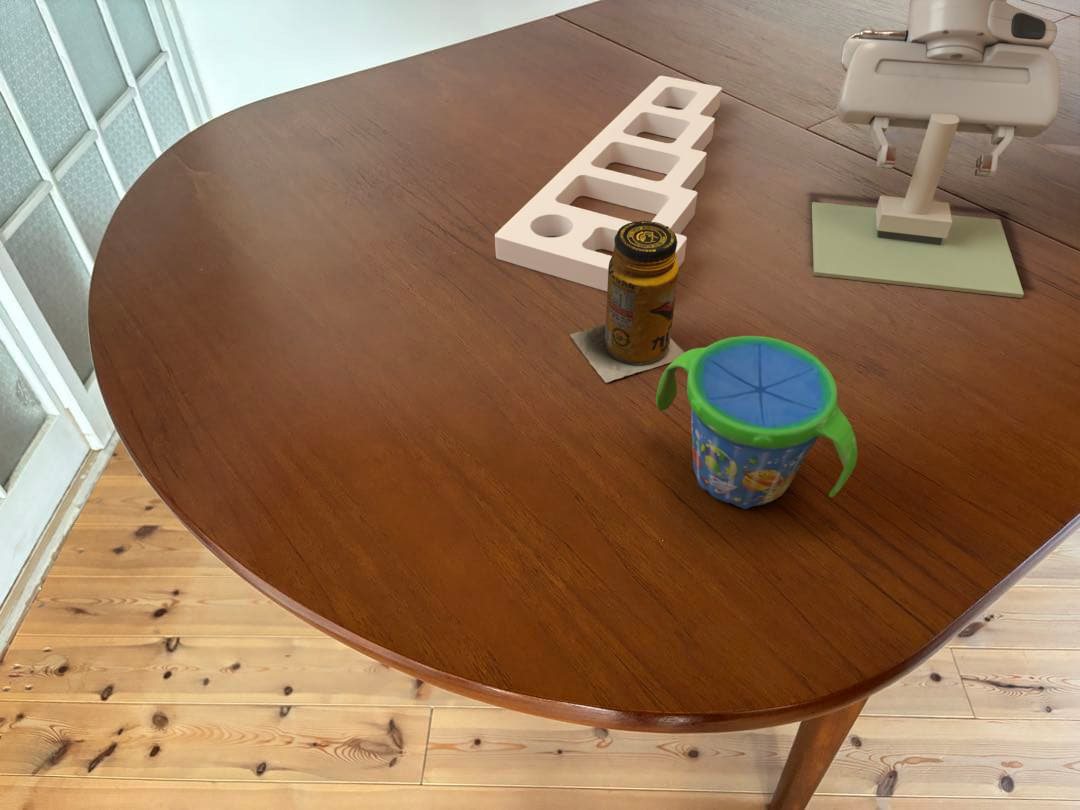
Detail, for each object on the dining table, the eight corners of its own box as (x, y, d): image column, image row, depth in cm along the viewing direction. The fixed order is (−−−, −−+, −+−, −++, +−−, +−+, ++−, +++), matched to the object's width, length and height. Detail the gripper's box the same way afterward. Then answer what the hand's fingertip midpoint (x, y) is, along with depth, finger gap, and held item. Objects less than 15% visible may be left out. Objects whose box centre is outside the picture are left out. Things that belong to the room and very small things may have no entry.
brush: (940, 227, 93) (981, 112, 84) (943, 247, 90) (986, 130, 81) (873, 219, 94) (906, 105, 85) (874, 238, 91) (908, 123, 82)
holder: (658, 94, 119) (659, 75, 117) (785, 120, 113) (789, 100, 111) (494, 258, 91) (493, 236, 89) (651, 305, 84) (654, 282, 83)
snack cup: (863, 491, 67) (900, 396, 60) (788, 571, 61) (818, 477, 54) (702, 396, 75) (717, 302, 68) (622, 460, 69) (630, 365, 62)
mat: (998, 223, 94) (1000, 219, 94) (1022, 298, 84) (1024, 294, 84) (811, 205, 97) (812, 201, 97) (813, 275, 88) (814, 271, 87)
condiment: (687, 357, 79) (702, 246, 70) (605, 384, 76) (611, 272, 68) (647, 313, 83) (657, 204, 75) (569, 337, 81) (571, 227, 73)
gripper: (851, 12, 84) (832, 152, 84) (1076, 25, 81) (1057, 170, 81) (839, 41, 90) (821, 171, 90) (1047, 54, 87) (1030, 189, 87)
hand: (934, 171), depth 85 cm, fingers open, 8 cm apart
